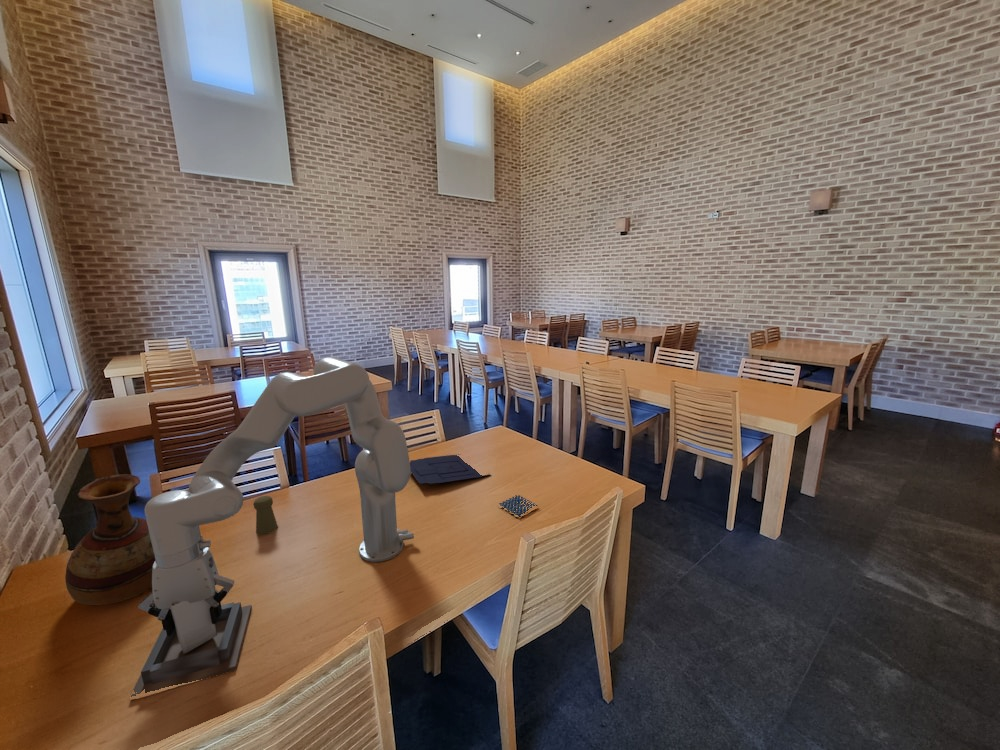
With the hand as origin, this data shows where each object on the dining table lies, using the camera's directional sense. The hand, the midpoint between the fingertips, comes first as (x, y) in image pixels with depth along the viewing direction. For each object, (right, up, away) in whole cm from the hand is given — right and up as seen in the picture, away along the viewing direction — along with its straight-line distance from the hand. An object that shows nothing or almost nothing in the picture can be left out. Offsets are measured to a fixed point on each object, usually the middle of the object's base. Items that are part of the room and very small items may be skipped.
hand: (194, 624), depth 84 cm
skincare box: (0, -4, +1) cm, 4 cm away
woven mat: (+71, +5, +56) cm, 91 cm away
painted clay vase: (-32, -2, +19) cm, 38 cm away
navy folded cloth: (+42, +12, +81) cm, 92 cm away
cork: (-10, +3, +43) cm, 44 cm away
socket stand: (0, -6, +1) cm, 6 cm away
